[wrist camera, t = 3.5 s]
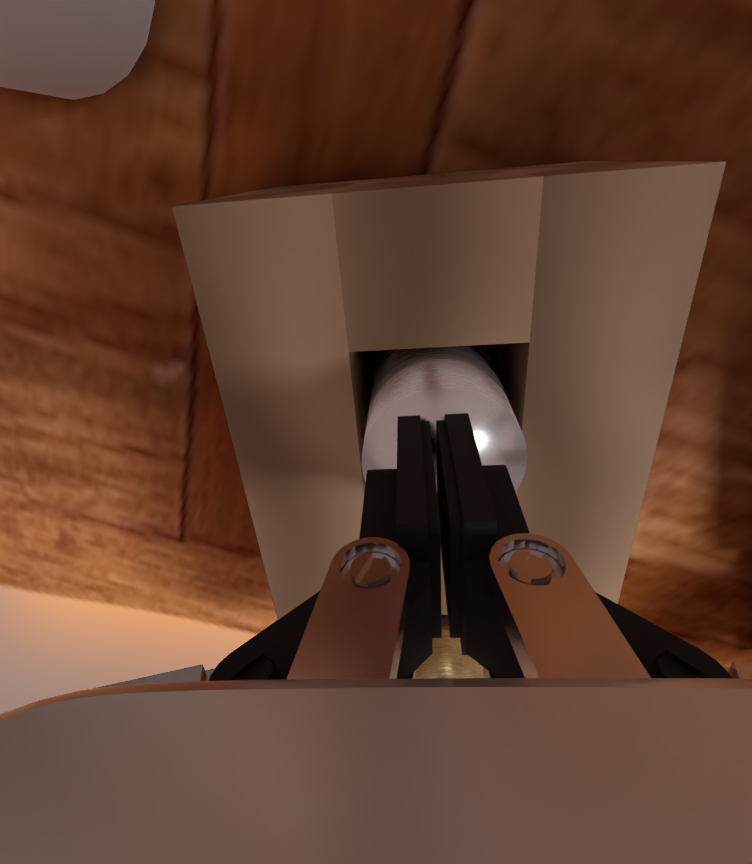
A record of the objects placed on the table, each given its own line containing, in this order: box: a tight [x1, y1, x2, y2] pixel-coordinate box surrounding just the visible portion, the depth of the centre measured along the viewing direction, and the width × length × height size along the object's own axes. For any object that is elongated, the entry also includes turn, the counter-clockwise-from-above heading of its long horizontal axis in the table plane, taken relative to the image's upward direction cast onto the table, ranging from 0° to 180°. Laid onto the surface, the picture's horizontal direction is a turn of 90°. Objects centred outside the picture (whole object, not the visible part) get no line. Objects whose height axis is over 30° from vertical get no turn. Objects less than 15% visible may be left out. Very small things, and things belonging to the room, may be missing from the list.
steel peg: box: [362, 345, 527, 492], centre depth 15 cm, size 4×4×8 cm
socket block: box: [172, 161, 726, 620], centre depth 20 cm, size 12×22×9 cm, turn 4°
